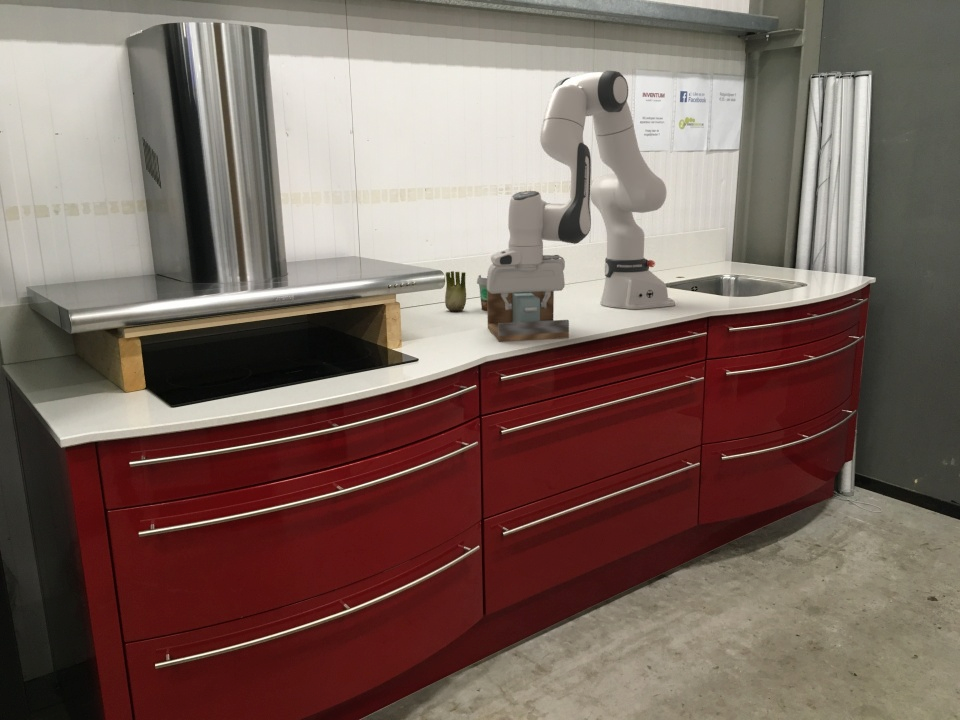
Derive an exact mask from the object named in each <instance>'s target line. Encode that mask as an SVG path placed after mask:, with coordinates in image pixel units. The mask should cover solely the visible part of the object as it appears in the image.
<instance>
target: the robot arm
mask: <svg viewBox="0 0 960 720" xmlns="http://www.w3.org/2000/svg"><path fill="white" fill-rule="evenodd" d="M628 84H629V83H628V81H627V79H626V78H625V76H624V75H623V74H622V73H621V72H619V71H616V70H605V71H594V72H593V71H592V72H587V73H585V74H580V75H576V76H573V77H565V78H563V79H562V80H559V81H558V82H557V83H556V84H555V86H554V87H553V90H552V92H551V95H550V97H549V100H548V102H547V105H546V109H545V112H544V116H543V119H542V124H541V129H540V133H539V134H540V135H539V142H540V146H541V148H542V150H543V151H544V152H545V153H546V154H547V156H549V157H550V158H552V159H553V160H555V161H557V162H559V163H561V164H563V165H565V166H567V167H569V169H570V174H571V175H570V190H569V191H570V194H569V195H570V198H569V200H568V201H567V203H550V202H546V201H544V200H543V199H542V196H541V193H540V192H539V191H536V190H524V191H519V192H516V193H514V194H513V195H512V196H511V198H510V202H509V207H508V224H507V225H508V231H509V240H508V248H507V249H504V250H501V251H499V252H496V253H493V254H492V255H491V257H490V261H491V263H492V264H490V265H489V267H488V270H487V276H486V278H487V290H488V291H489V292H490V293H491V294H498V293H501V297H502V299H503V301H504V302H505V309H506V310H512V303H511V302H508V301H507V299H506V298H505V297H508V293H520V292H542V291H544V294H545V296H544V298H543V300H542V301H540V308H546V302H547V301H548V299H549V297H550V296H551V291H554V292H559V291H563V290H564V288H565V274H564V271H565V268H566V265H565V264H566V261H565V259H564V258H563V257H562V256H560V255H559V254H552V255H548V254H544V241H550V242H562V243H567V244H573V245H576V244H579V243H580V242H582V241H583V240H584V239H585V238H586V237H587V236H589V233H590V231H591V225H592V218H591V208H590V205H591V203H590V202H592V204H593V206H595V207H596V208H597V210H598V211H599V213H600V214H601V217H602V220H603V222H604V227H605V232H606V257H605V261H604V276H605V279H604V286H603V287H604V288H603V292H602V296H601V298H600V299H601V300H600V305H602V306H605V307H611V308H618V309H619V308H620V309H627V310H628V309H629V310H642V309H652V308H662V307H665V308H666V307H672V306H673V307H674V306H676V302H675V300H674V299H673V298H671V297H669V296H668V295H669V294H668V293H669V292H668V288H667V285H666V283H665V282H664V281H662V280H661V279H660V278H659V277H658V276H657V275H655V274H654V273H653V272H652V271H651V270H649V269H650V268H654V267H655V265H656V262H655V260H651V259H649V260H648V259H647V258H645V253H644V252H645V232H644V229H642V227H640V226H639V225H638V224H637V222H636V220H635V217H634V214H633V213H639V214H640V213H641V214H643V213H649V212H654V211H658V210H660V208H662V206H663V205H664V203H665V201H666V199H667V187H666V185H665V182H664V180H663V178H660V177H659V176H658V175H656V174H655V173H654V172H653V170H652V169H651V168H650V167H649V166H648V164H647V163H646V161H645V159H644V157H643V155H642V153H641V151H640V147H639V144H638V140H637V135H636V130H635V125H634V120H633V116H632V112H631V109H630V106H629V103H628V98H629V97H628V96H629V85H628ZM586 117H592V122H593V129H594V135H595V138H596V144H597V149H598V153H599V156H600V157H599V158H600V159H601V162H603V164H605V165H606V166H607V167H608V168H610V169H611V170H612V172H613V173H609V174H606V175H601V176H598V177H596V178H595V179H594V180H593V182H592V183H591V175H592V159H591V151H590V149H589V147H588V145H586V144H585V142H584V129H585V123H586Z"/></svg>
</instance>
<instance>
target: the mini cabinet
mask: <svg viewBox="0 0 960 720" xmlns="http://www.w3.org/2000/svg"><path fill="white" fill-rule="evenodd" d="M512 307H513V322H532V321H540V299H539V298H538V297H536V296H535V295H534V294H532V293H531V292H529V293H512Z"/></svg>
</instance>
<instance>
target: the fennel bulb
mask: <svg viewBox="0 0 960 720" xmlns="http://www.w3.org/2000/svg"><path fill="white" fill-rule="evenodd" d="M460 275H461V277H460ZM466 275H467V274H466V272H465V271H462V272H461V273H460V271H454V270H452V271H448V272H447V271H446V272H445V279H446V288H445V295H444V296H445V297H444V300H445V301H444V303H445V307H446V309H447V310H448V311H451V312H461V311H464V309H465V306H466V304H467V288H466Z"/></svg>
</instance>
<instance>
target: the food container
mask: <svg viewBox="0 0 960 720" xmlns="http://www.w3.org/2000/svg"><path fill="white" fill-rule="evenodd" d="M476 284H477V285H478V287H479V296H480V307H481V310H482V311H484V312H487V277H482V275H481V274H479V275H478V277H477V279H476Z"/></svg>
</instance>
